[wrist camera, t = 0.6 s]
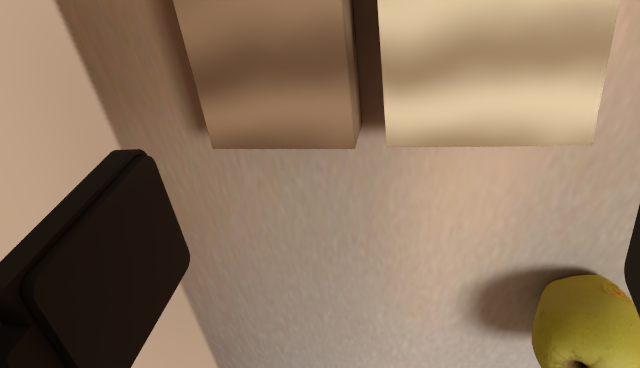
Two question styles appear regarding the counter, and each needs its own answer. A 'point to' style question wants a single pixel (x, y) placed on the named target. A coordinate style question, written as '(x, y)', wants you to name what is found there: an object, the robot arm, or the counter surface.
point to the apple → (586, 325)
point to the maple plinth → (493, 71)
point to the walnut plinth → (274, 72)
